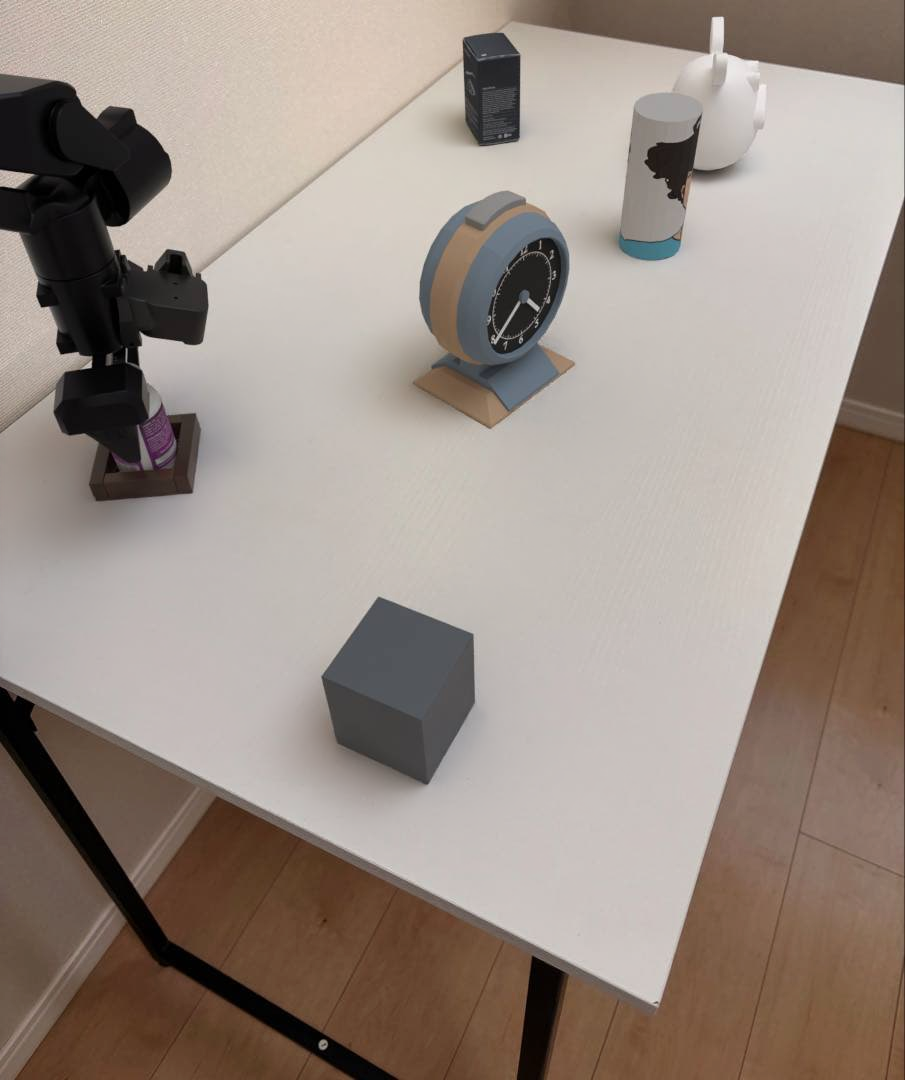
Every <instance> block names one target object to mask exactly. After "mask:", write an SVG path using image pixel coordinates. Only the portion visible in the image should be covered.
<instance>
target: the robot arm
mask: <svg viewBox="0 0 905 1080" xmlns="http://www.w3.org/2000/svg"><path fill="white" fill-rule="evenodd" d="M77 94H78V93H77V89H76V87H74V86H73V85H71V83H69V82H65V81H61V80H57V79H49V78H42V77H41V78H40V77H32V76H25V75H16V74H7V73H0V171H5V172H13V173H20V174H27V175H31V176H29V177H28V178H27V179H25V180H24V181H23V182H22V183H20V184H19V185H17V186H16V187H12V186H11V187H10V186H4V185H0V231H6V232H11V233H17V234H19V237H20V239H21V242H22V244H23V246H24V249H25V251H26V254H27V257H28V259H29V261H30V264H31V266H32V269H33V272H34V274H35V276H36V279H37V284H36V285H37V286H36V293H35V297H36V299H37V301H38V305H39V307H40V309H42V308H49V311H50V312H51V313H50V314H51V316H52V318H53V320H54V324H55V326H56V327H57V331H56V338H55V339H56V340H55V345H56V348H57V350H58V353H59V355H60V356H61V355H69V354H75V353H78V355H79V356H80V357H88V358H89V357H91V367H86V368H81V369H74V370H68V371H64V372H63V374H62V375H61V376H60V378H59V379H58V381H57V382H56V383H55V392H54V400H53V410H52V413H53V415H54V418H55V420H56V422H57V425H58V427H59V429H60V431H61V433H62V434H64V435H67V436H69V437H71V436H72V437H73V436H79V435H86V436H88V437H89V438H91V439H93V440H94V441H96V442H97V443H100V444H102V445H103V446H104V447H106V448H107V449H109V450H110V451H111V452H113V453H114V454H116V455H117V456H118V457H120V458H121V459H123V460H124V461H125V462H127V463H136V462H140V461H141V451H140V442H139V435H138V427H137V425H141V424H143V423H144V422H145V421H146V420H148V419H149V392H148V388H147V379H146V377H145V374H144V371H143V370H142V369H141V370H140V369H138V368H136V367H134V366H132V365H130V364H128V363H133V364H135V365H137V366H139V367H140V368H141V366H140V365H141V364H140V363H141V362H140V350H139V348H140V347H143V337H142V335H143V336H145V337H148V338H151V339H152V338H153V339H158V340H165V341H166V340H167V341H173V342H181V343H183V344H184V345H187V346H198V345H201V344H203V342H204V338H205V333H206V327H207V319H208V314H209V308H210V307H209V305H210V303H209V291H208V285H207V283H206V281H204V280H203V279H202V273H200V272H195V275H194V274H193V267H192V266H191V263H190V261H189V258H188V256H187V254H186V252H185V251H182V250H177V249H171V248H166V249H165V250H164V252H163V253H162V254H161V256H160V257H159V258H158V259H157V261H156V262H155V263H154V265H152V264H147V269H146V270H144V268H143V267H142V266H140V265H139V264H137V263H135V262H133V261H132V260H130V259H128V258H127V255H126V254H122V252H121V249H115V248H114V244H113V241H112V239H111V235H110V233H109V229H108V228H109V227H110V228H117V227H118V228H120V227H122V226H124V225H127V224H128V223H129V222H130V221H131V220H132V219H133V218H134V217H135V216H136V215H138V213H140V212H141V211H142V210H143V209H144V208H145V207H147V205H148V204H149V203H150V202H151V201H152V200H154V199H155V198H156V197H157V196H158V195H159V194H160V193H161V192H162V191H163V190H165V188H166V187H167V186H168V185H169V184H170V182H171V179H172V175H173V167H172V160H171V157H170V154H169V153H168V152H167V151H165V148H164V147H163V145H162V144H161V142H160V141H159V140H158V138H156V136H155V135H154V134H153V133H151V131H150V130H148V129H147V128H145V127H144V126H142V125H140V124H139V123H138V121H137V118H136V115H135V110H134V109H133V108H130V107H122V106H114V105H108V106H107V107H106V108H104V109H103V110H102V111H101V112H100V113H99V114H98V116H97V117H95V116H94V115H93V114H92V113H91V112H90V111H89V110H88V109H86V108H85V107H84V106H83V103H82V101H81V99H80V98H79V96H78V95H77ZM127 362H128V363H127ZM145 379H146V380H145Z"/></svg>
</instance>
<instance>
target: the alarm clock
mask: <svg viewBox="0 0 905 1080" xmlns="http://www.w3.org/2000/svg"><path fill="white" fill-rule="evenodd" d="M422 266H423V267H422V269H421V270H422V271H421V275H420V279H419V292H418V293H419V295H418V300H419V306H420V311H421V315H422V318H423V320H424V322H425V324H426V326H427V328H428V330H429V332H430V334H431V335H433V336H434V337H435V340H436V342H437V344H438V345H439V346H440V347H441V348H443V349H444V350H445V351H446V352H447V354H445V355H444V356H443V357H441V358H440V359H438V360H437V361H436V362H434V363H433V364H431V365H430V367H431V369H428V371H426V372H425V373H424V374H422V375H421V376H419V377H418V378H416V379H415V380H413V381H412V384H413V385H415V386H416V387H418V388H421V389H422V390H423V391H425V392H427V393H428V394H430V395H432V396H434V397H436V398H437V399H439V400H441V401H443V402H444V403H446V404H447V405H449V406H450V407H453V408H455V409H456V410H458V411H459V412H462V413H463V414H465V415H466V416H468V417H470V418H472V419H473V420H474V421H477V422H479V423H480V424H482V425H484V426H485V427H487V428H489V429H492V428H494V427H495V426H497V424H499V423H500V422H501V421H503V420H504V419H506V418H507V417H508V416H510V415H511V414H512V413H513V412H514V411H516V410H517V409H519V408H520V407H521V406H522V405H524V404H525V403H526V402H528V401H530V399H532V398H533V397H534V396H536V395H537V394H538V393H540V392H541V391H542V390H543V389H545V388H546V387H547V386H549V385H550V384H551V383H553V382H554V381H555V380H557V379H558V378H559V377H560V376H562V375H563V374H564V373H567V371H569V370H570V369H571V368H572V367H574V366H575V365H576V362H575V361H574V360H572V359H570V358H568V357H565V356H564V355H562V354H559V353H558V352H556V351H553V350H552V349H550V348H549V347H546V346H544V345H542V344H540V343H539V341H540V340H541V339H542V337H544V335H545V334H546V333H547V331H548V330H549V328H550V327H551V325H552V323H553V321H554V320H555V318H556V316H557V314H558V311H559V309H560V307H561V304H562V303H563V299H564V296H565V293H566V290H567V286H568V281H569V275H570V251H569V248H568V244H567V241H566V239H565V236H564V235H563V233H562V232H561V230H560V229H559V227H558V225H557V224H556V223H555V222H553V221H552V220H551V218H550V217H549V216H548V214H547V212H546V211H545V210H543V209H541V208H539V207H538V206H536V205H533V204H531V203H528V202H527V198H526V197H525V196H523V195H520V194H518V193H515V192H512V191H511V190H499V191H497V192H494V193H492V194H490V195H488V196H485V197H484V198H483V199H480V200H477V201H475V202H472V203H470V204H468V205H465V206H463V207H462V208H461V209H459V210H458V211H456V213H454V214H453V215H452V216H451V217H450V218H449V219H448V221H447V222H445V224H444V225H443V226H442V227H441V228H440V230H439V231H438V233H437V235H436V237H435V238H434V240H433V242H432V243H431V245H430V247H429V250H428V252H427V255H426V257H425V260H424V262H423V265H422Z"/></svg>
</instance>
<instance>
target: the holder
mask: <svg viewBox="0 0 905 1080" xmlns="http://www.w3.org/2000/svg"><path fill="white" fill-rule="evenodd" d="M167 417H168V420H169V423H170V425H171V428H172V431H173V434H174V437H175V440H176V441H178V443H177V446H178V450H177V456H176V463H175V469H174V468H167V469H155V470H144V471H132V472H120V471H119V472H116V471H117V468H118V467H117V464H116V462H115V460H114V457H113V455H112V453H111V451H110V450H109V449H107V448H106V447H104V446H103V445H102V444H100V443H99V442H97V447H96V452H95V456H94V459H93V465H92V468H91V473H90V477H89V481H88V487H89V489H90V491H91V493H92V495H93V498H94V500H95V502H99V501H100V502H101V501H109V500H111V501H112V500H121V499H133V498H134V499H135V498H145V497H157V496H158V497H159V496H167V495H168V496H169V495H170V496H171V495H178V494H179V495H181V494H191V493H193V492H194V485H195V478H196V471H197V462H198V457H199V456H198V455H199V448H200V440H201V432H202V428H201V425H200V422H199V417H198V414H197V413H196V412H191V413H178V414H167Z"/></svg>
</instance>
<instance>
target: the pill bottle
mask: <svg viewBox="0 0 905 1080" xmlns="http://www.w3.org/2000/svg"><path fill="white" fill-rule="evenodd" d="M127 363H128V362H127ZM128 364H130V365H132V366H134V367H136V368H138V369H140V370H142V369H141V366H140V367H139V366H137V365H135V364H133V363H128ZM145 380H146V381H147V379H146V378H145ZM146 383H147V382H146ZM147 388H148V392H149V419H148V420H146V421H145V422H144V423H143V424H141V425H137V427H138V435H139V442H140V451H141V461H140V462H136V463H127V462H125V461H124V460H123V459H121V458H120V457H118V456H117V455H116V454H114V453H113V452H111V453H112V455H113V457H114V460H115V462H116V464H117V467H116V468H117V469H118V471H119V473H120V472H132V471H144V470H155V469H167V468H174V469H175V463H176V456H177V450H178V443H177V440H175V437H174V434H173V431H172V428H171V425H170V423H169V420H168V417H167V415H168V414H167V412H166V408H165V406H164V403H163V401H162V400H163V399H162V397H161V395H160V393H159V391H158V390H157V389H156V388H155V387H154V386H153V385H152V384H150V383H147Z"/></svg>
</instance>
